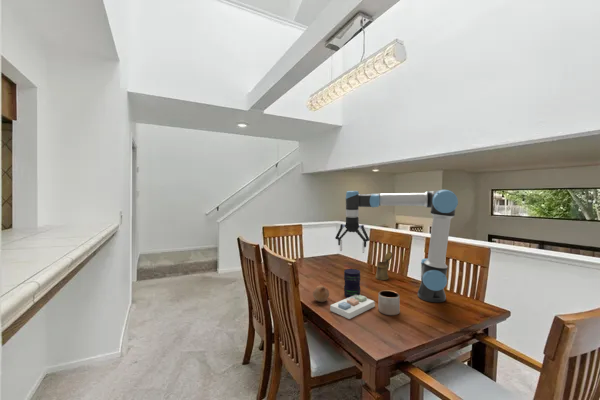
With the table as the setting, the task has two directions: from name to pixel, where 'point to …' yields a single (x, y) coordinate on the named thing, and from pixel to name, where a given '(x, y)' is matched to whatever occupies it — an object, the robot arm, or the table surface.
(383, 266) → the wooden mug
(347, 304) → the button one dot
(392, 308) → the planter
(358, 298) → the button two dots
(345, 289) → the navy blue cylinder
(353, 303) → the button three dots
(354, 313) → the button panel
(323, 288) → the onion
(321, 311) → the table surface
